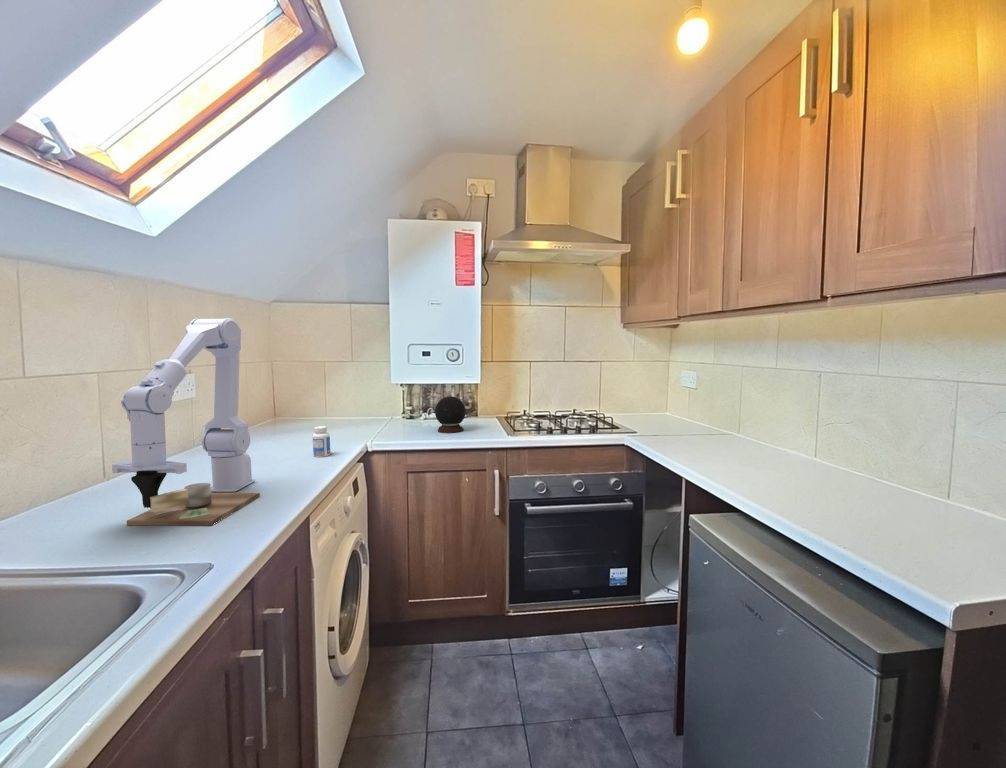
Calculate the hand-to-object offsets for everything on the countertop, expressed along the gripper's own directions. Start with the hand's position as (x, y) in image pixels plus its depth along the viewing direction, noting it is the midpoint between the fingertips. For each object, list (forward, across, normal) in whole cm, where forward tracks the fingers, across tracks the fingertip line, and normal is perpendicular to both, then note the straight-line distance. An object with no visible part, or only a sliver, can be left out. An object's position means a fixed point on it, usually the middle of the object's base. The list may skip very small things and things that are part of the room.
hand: (151, 506), depth 97 cm
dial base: (+3, +5, +7) cm, 9 cm away
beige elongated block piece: (+2, +4, +4) cm, 6 cm away
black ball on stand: (0, +49, +102) cm, 114 cm away
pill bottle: (+2, +12, +58) cm, 59 cm away
